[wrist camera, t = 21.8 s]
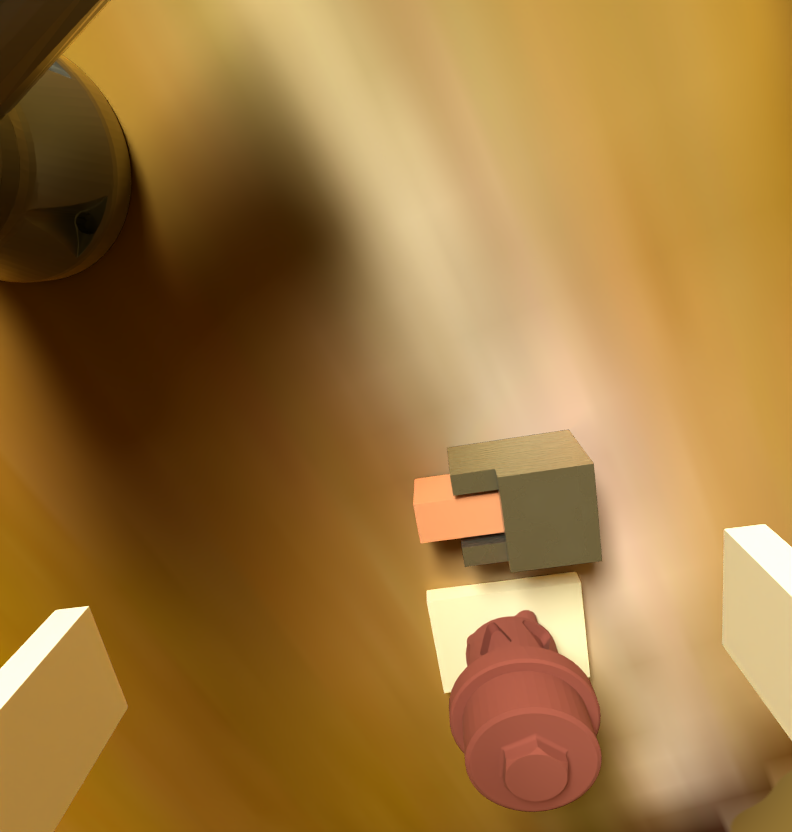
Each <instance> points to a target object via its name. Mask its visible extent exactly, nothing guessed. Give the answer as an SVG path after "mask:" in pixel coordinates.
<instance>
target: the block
mask: <svg viewBox="0 0 792 832" xmlns="http://www.w3.org/2000/svg"><path fill="white" fill-rule="evenodd" d="M427 605H428V610H429V616H430V621H431V626H432V631H433V637H434V642H435V647H436V652H437V658H438V663H439V668H440V673H441V679H442V684H443V689H444V693H448V692H451V690H452V688H453V686H454V683H455V681H456V680H457V678H458V677H459V675H460V674H461V673H462V672H463V671H464V670H465V668H466V667H467V662H466V648H467V638H468V637H469V636H470V635H471V634H473V633H474V632H475V631H476V630H477V629H478V628H479V627H481V626H482V625H483V624H485V623H487V622H489V621H491V620H494V619H497V618H501V617H507V616H516V615H517V614H518V613H519V612H520V611H523V610H530V611H532V612H533V613H535V615H536V617H537V621H538V623H539V624H540V625H542V626H543V627H544V628H545V629H546V630H548V631H549V633H550V634H551V636H552V637H553V639H554V641H555V644H556V647H557V650H558V653H559V654H561V655H563V656H565V657H567V658H568V659H570V660H571V661H573V662H574V663H575V664H576V665H578V666H579V667H580V668H581V669H582V671H583V672H584V673H585V674H586V676H587V677H590V670H589V660H588V650H587V640H586V630H585V620H584V610H583V599H582V589H581V582H580V579H579V577H578V575H577V573H576V572H568V573H561V574H553V575H545V576H537V577H529V578H521V579H513V580H505V581H497V582H489V583H481V584H473V585H465V586H457V587H449V588H442V589H434V590H427Z"/></svg>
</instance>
